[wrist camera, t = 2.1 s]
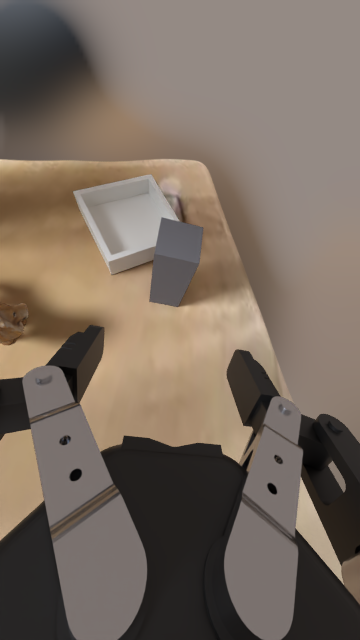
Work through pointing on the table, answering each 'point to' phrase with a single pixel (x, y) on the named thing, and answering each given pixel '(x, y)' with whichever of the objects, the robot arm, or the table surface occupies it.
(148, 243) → the tray
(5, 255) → the table surface
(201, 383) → the table surface
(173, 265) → the handle block
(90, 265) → the table surface
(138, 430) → the table surface
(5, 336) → the lion figurine
